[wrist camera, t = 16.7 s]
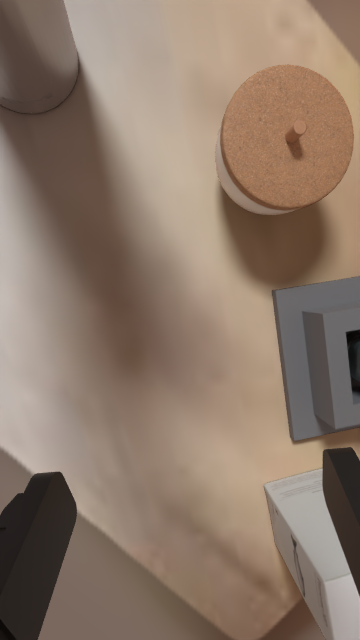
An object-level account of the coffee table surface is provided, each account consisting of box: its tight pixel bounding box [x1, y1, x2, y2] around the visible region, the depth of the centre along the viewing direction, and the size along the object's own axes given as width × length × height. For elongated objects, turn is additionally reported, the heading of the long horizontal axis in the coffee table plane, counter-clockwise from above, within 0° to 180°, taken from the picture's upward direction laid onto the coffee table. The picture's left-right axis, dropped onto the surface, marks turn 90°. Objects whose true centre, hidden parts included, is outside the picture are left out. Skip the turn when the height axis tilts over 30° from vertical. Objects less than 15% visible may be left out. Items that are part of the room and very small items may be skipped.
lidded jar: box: [215, 65, 354, 215], centre depth 29 cm, size 11×11×9 cm
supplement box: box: [264, 468, 360, 640], centre depth 32 cm, size 7×7×13 cm
